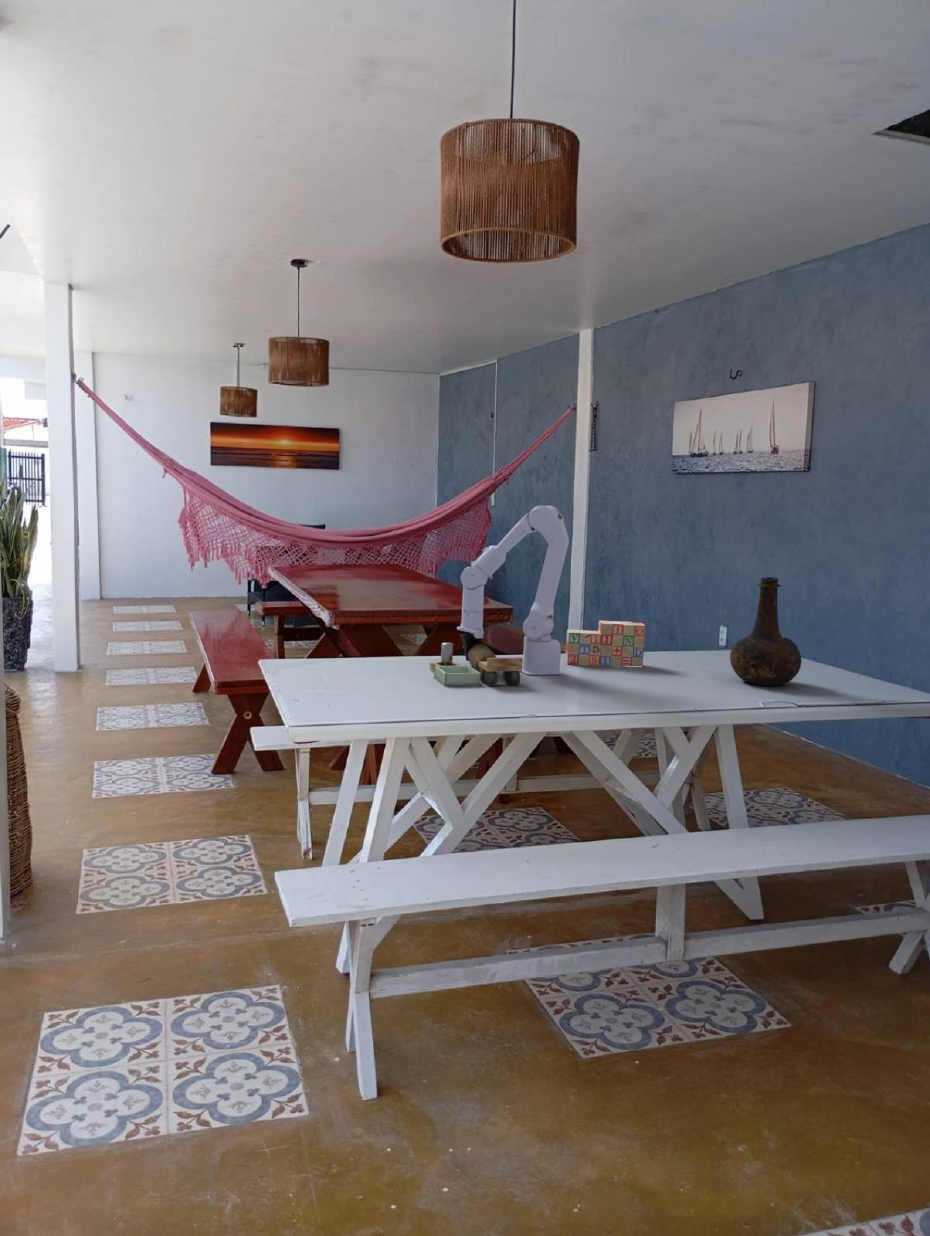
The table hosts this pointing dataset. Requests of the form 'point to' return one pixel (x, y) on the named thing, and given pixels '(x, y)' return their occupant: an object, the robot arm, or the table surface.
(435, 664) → the pin holder
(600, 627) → the stack of blocks
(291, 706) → the table surface
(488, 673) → the trolley
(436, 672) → the tray
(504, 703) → the table surface
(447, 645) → the pin
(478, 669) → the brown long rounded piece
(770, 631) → the glass bottle
